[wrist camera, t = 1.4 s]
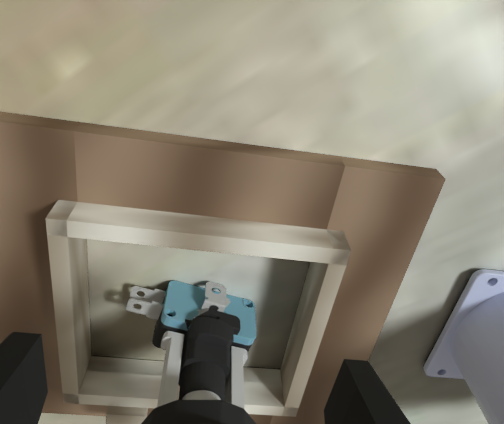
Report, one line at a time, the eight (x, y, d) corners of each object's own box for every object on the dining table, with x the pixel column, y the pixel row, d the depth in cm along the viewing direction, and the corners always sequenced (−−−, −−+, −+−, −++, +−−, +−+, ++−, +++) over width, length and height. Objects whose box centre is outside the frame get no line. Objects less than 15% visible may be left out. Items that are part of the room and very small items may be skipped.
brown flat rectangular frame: (436, 168, 20) (467, 202, 17) (335, 415, 29) (345, 460, 26) (-36, 107, 17) (-82, 134, 15) (17, 395, 26) (-7, 443, 24)
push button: (121, 318, 24) (59, 529, 15) (147, 242, 21) (89, 442, 13) (237, 346, 25) (240, 552, 16) (273, 278, 23) (299, 479, 14)
